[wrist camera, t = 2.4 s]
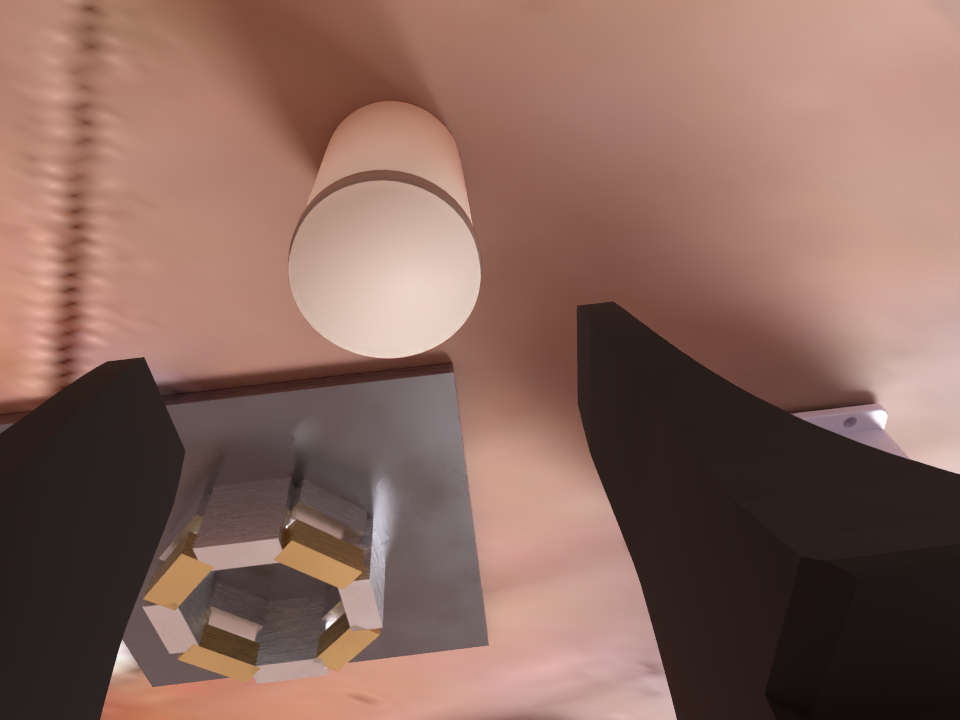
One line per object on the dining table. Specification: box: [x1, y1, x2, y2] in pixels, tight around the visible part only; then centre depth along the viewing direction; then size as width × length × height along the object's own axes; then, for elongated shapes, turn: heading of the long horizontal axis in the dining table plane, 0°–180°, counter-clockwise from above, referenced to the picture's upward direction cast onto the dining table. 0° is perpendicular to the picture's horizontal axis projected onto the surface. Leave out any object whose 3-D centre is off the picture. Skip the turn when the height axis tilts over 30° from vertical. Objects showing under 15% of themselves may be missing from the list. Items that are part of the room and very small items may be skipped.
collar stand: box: [0, 363, 489, 687], centre depth 27 cm, size 16×16×4 cm
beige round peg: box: [288, 101, 482, 358], centre depth 17 cm, size 4×4×7 cm
